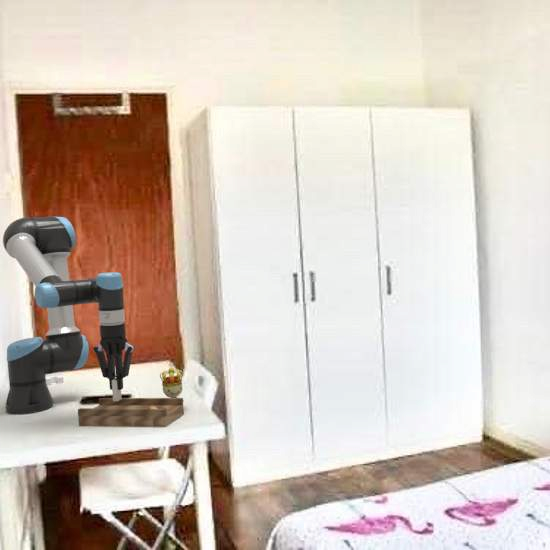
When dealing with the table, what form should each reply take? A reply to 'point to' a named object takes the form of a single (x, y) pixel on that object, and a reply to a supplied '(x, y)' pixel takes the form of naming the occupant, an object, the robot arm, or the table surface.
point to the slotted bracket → (54, 378)
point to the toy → (172, 383)
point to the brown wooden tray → (132, 412)
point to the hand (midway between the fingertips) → (117, 400)
